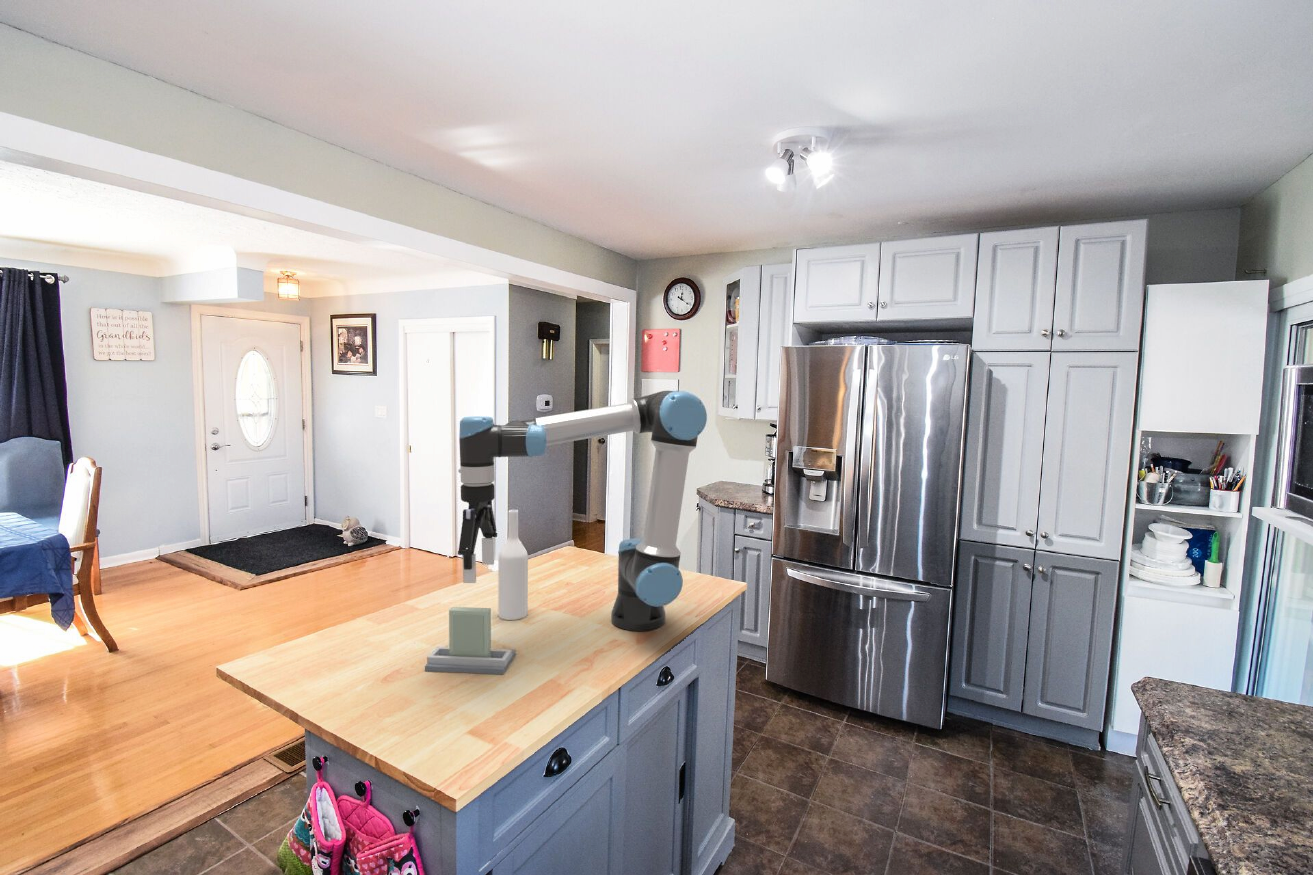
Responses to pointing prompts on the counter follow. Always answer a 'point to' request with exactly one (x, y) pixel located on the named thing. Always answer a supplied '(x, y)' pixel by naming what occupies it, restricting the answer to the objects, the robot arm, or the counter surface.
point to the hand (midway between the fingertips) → (479, 573)
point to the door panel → (470, 632)
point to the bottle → (513, 574)
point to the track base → (469, 662)
